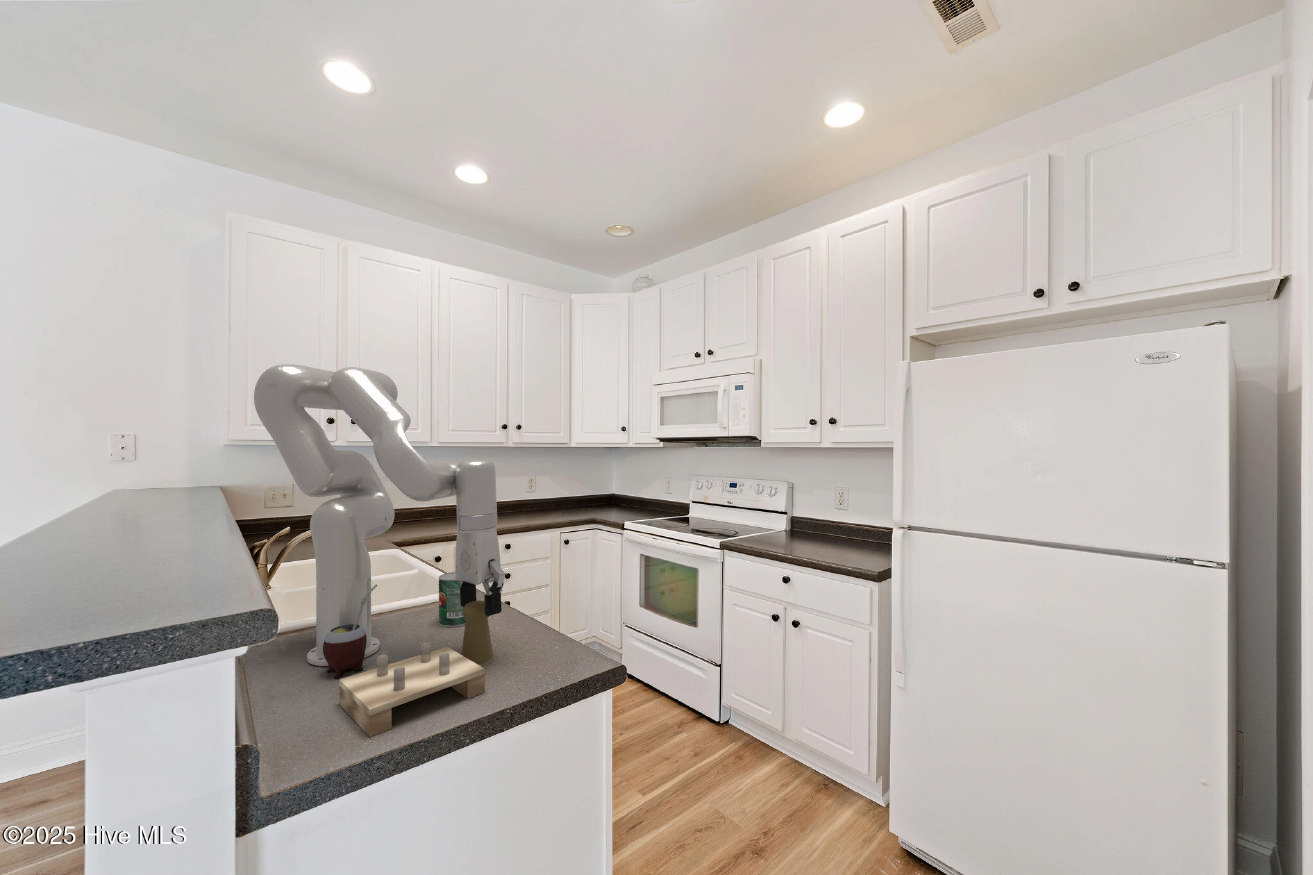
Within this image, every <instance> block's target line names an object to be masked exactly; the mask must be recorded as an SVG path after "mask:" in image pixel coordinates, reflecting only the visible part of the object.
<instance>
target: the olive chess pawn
mask: <svg viewBox="0 0 1313 875" xmlns="http://www.w3.org/2000/svg"><path fill="white" fill-rule="evenodd" d="M463 617H464V619H465V620H466V623H465V625H464V632H463V639H462V647H461V653H460V655H462V656H464V657H466V658H467V659H469V660H471V661H472V662H474V663H476V664H478V665H480V664H483V663H486V662H489V661H490V660H492V658H494V657H493V656H494V653H493V647H492V640H491V639H492V638H491V634H490V632H491V631H490V626H489V617H490V616H486V615H485V602H484V600H477V601H473V602H469V603H468V604H466V605H465V607H464V608H463Z"/></svg>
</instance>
